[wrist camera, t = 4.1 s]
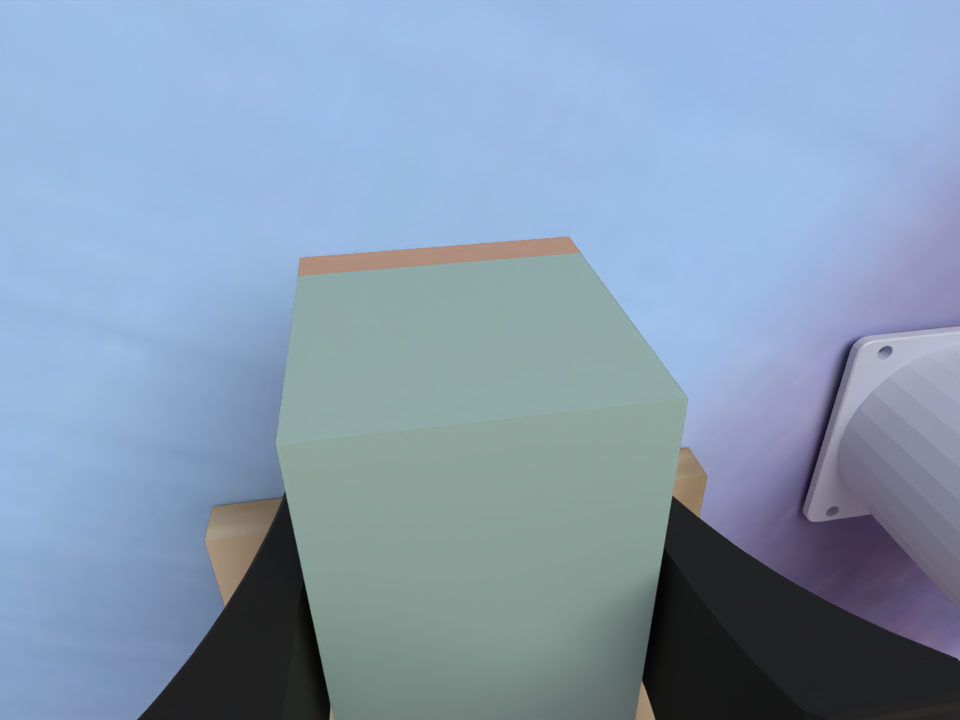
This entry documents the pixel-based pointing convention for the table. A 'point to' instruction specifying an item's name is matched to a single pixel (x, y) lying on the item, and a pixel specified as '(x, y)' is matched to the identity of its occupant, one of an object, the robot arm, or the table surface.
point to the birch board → (247, 523)
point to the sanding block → (476, 481)
